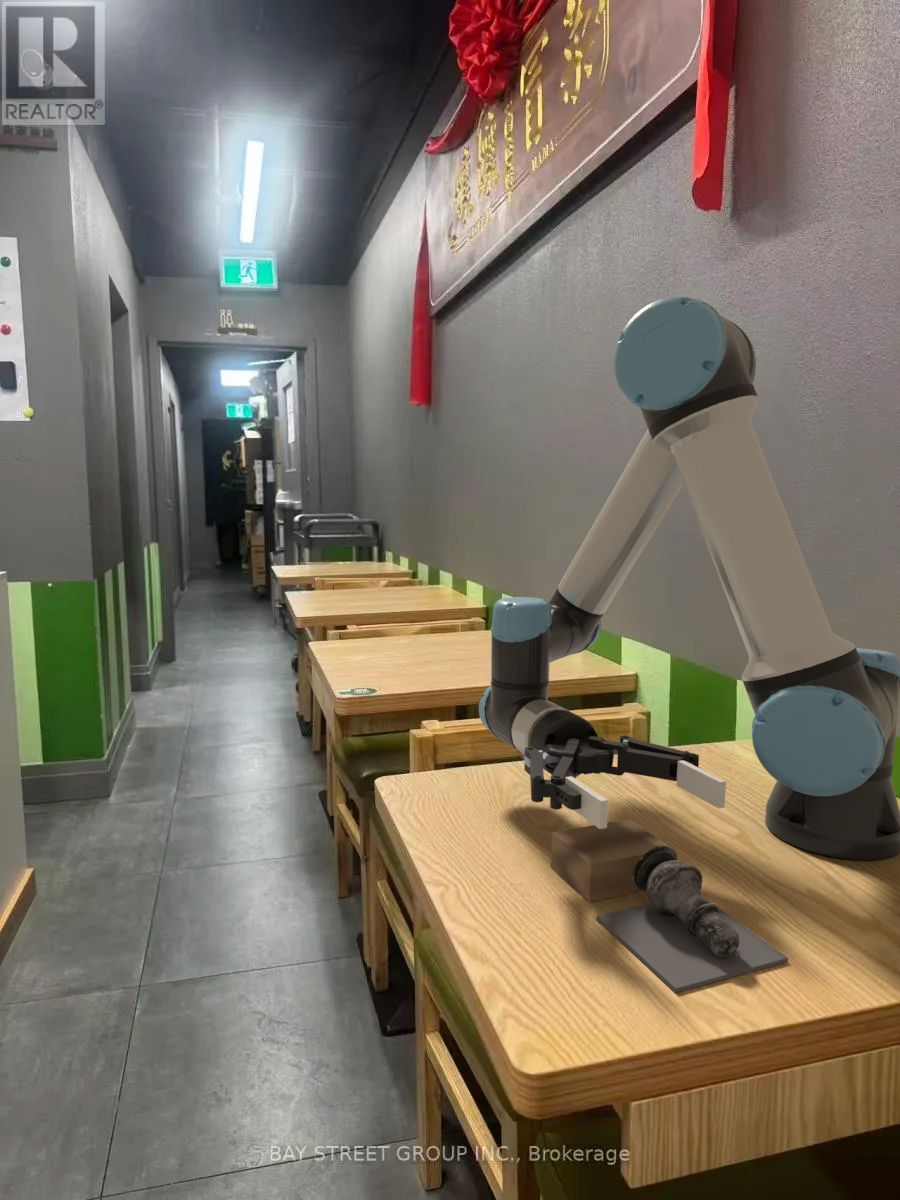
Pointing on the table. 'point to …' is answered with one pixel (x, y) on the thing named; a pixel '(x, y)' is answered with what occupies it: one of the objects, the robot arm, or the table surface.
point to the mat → (685, 948)
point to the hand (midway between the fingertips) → (665, 804)
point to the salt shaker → (683, 899)
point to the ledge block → (601, 857)
